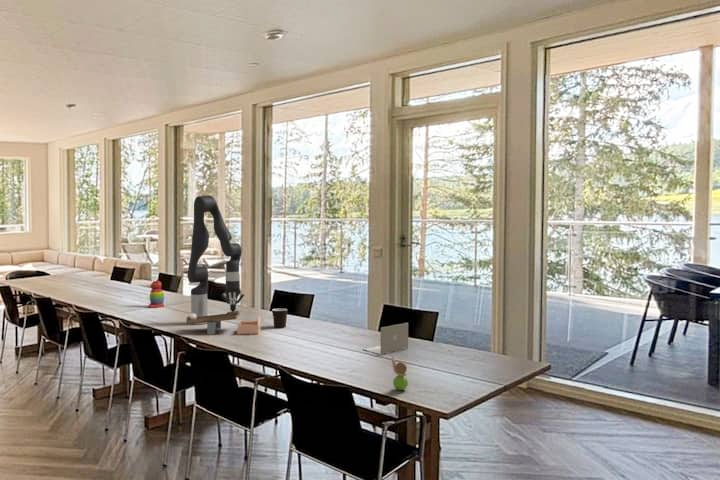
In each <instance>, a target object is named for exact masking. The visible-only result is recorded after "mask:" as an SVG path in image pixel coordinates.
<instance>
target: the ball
mask: <svg viewBox="0 0 720 480" xmlns="http://www.w3.org/2000/svg"><path fill="white" fill-rule="evenodd" d="M188 316H189V319H190V320H191V319H196V318H197V315H196V314H195V313H192V314H191V313H190V314H189V315H188Z"/></svg>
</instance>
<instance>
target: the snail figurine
mask: <svg viewBox="0 0 720 480" xmlns="http://www.w3.org/2000/svg"><path fill="white" fill-rule="evenodd" d="M394 358H395V355H394V356H391V363H392V369H393V372H394V373H395V375H396V376H395V377H394V379H393V381H392V385H393V387H394V388H395V390H396V391H404V390H405V389H407V387H408V385H409V381H408V379H407V377H406V376H407V373H406V372H407V369H408V368H407V365H406V364H405V363H404V362H402V361H399V362H397V363H396V359H394Z"/></svg>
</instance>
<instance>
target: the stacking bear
mask: <svg viewBox="0 0 720 480" xmlns="http://www.w3.org/2000/svg"><path fill="white" fill-rule="evenodd" d="M149 287H150V288H151V289H150V292H149V293H150V294H149V302H150V303H149V304H148V309H157V308H163V307H165V303H164V302H165V293H164V291H163V289H162V282H161V281H160V280H158V279H157V280H153V282H152V283H151V284H150V285H149Z"/></svg>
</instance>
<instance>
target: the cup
mask: <svg viewBox="0 0 720 480" xmlns="http://www.w3.org/2000/svg"><path fill="white" fill-rule="evenodd" d="M261 323H262V322H261V315H258V317H257V318H256V321H255V320H254V321H253V320H252V321H251V320H250V321H249V320H247V321H244V320H243V321H242V320H241V321H240V324H238V325H237V328H236V335H240V334H251V335H260V332H261V327H262V326H261Z"/></svg>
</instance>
